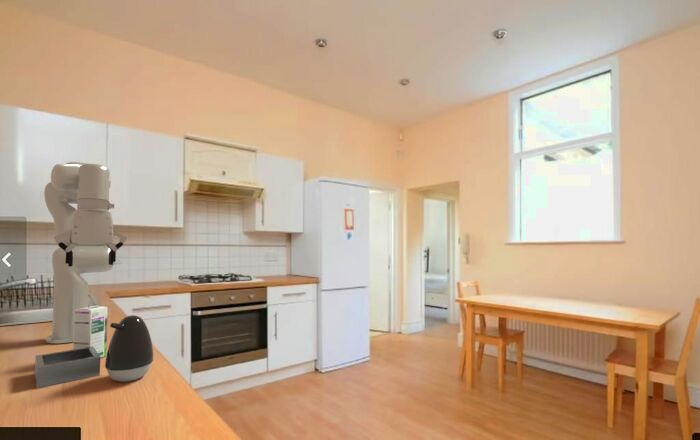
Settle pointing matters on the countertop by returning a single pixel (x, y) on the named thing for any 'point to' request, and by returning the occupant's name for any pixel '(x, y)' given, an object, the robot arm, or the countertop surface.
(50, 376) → the gray square open frame
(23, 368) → the countertop surface
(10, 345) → the countertop surface
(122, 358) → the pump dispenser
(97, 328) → the syrup box
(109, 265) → the robot arm
